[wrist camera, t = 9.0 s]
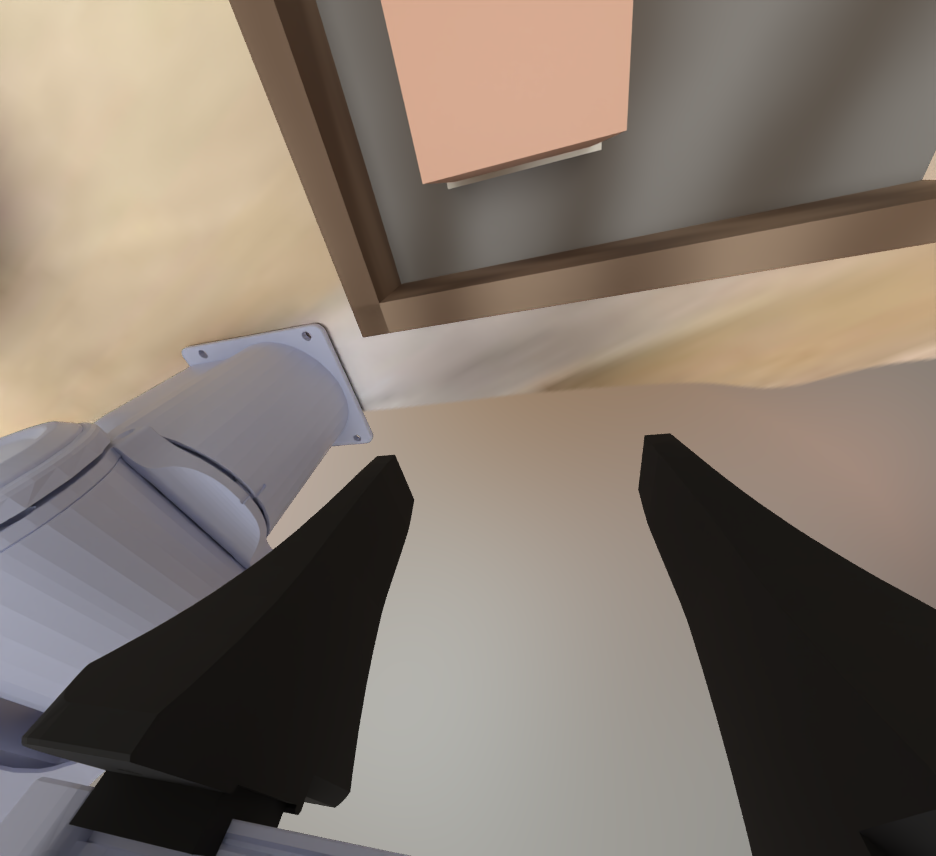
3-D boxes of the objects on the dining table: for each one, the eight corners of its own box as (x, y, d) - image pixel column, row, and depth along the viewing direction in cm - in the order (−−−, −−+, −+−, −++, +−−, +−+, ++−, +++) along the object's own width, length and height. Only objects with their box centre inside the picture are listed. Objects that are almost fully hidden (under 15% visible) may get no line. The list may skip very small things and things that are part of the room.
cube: (453, 182, 13) (422, 184, 9) (415, -22, 10) (346, -152, 6) (591, 146, 12) (626, 130, 8) (592, -94, 9) (649, -313, 5)
